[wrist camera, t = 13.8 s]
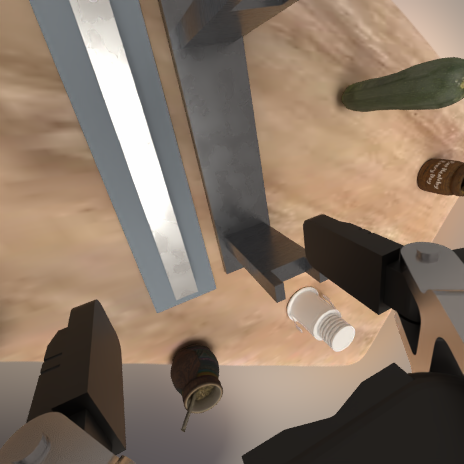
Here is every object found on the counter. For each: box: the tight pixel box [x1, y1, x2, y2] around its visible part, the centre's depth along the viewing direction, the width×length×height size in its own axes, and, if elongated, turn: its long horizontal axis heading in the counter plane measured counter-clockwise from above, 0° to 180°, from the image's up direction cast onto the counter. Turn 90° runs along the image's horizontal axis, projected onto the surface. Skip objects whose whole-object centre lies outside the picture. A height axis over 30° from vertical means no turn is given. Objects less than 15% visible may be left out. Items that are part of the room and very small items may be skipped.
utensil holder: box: [418, 159, 464, 196], centre depth 46 cm, size 6×6×12 cm
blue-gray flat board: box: [29, 0, 216, 313], centre depth 32 cm, size 38×9×1 cm, turn 12°
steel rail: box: [69, 0, 198, 300], centre depth 30 cm, size 32×3×3 cm, turn 12°
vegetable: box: [342, 57, 464, 112], centre depth 30 cm, size 4×4×20 cm
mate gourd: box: [171, 345, 223, 432], centre depth 40 cm, size 7×8×10 cm
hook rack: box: [158, 0, 328, 303], centre depth 28 cm, size 34×8×14 cm, turn 12°
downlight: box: [287, 287, 355, 352], centre depth 46 cm, size 8×7×10 cm
